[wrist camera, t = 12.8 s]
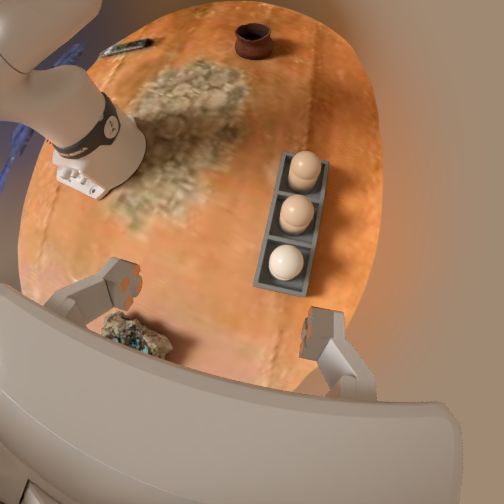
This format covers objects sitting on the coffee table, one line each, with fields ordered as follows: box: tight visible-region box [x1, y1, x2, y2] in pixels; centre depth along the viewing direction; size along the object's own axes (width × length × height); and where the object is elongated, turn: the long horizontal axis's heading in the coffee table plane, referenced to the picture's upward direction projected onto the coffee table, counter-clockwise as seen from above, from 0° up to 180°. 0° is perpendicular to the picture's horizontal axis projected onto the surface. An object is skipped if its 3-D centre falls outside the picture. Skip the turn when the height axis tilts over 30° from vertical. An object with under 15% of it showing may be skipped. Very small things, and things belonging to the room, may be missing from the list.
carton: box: [253, 151, 329, 297], centre depth 38 cm, size 8×22×9 cm, turn 167°
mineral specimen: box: [102, 310, 173, 360], centre depth 38 cm, size 12×9×8 cm
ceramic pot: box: [235, 23, 274, 60], centre depth 47 cm, size 18×18×7 cm
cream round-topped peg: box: [269, 245, 304, 282], centre depth 37 cm, size 4×4×8 cm
